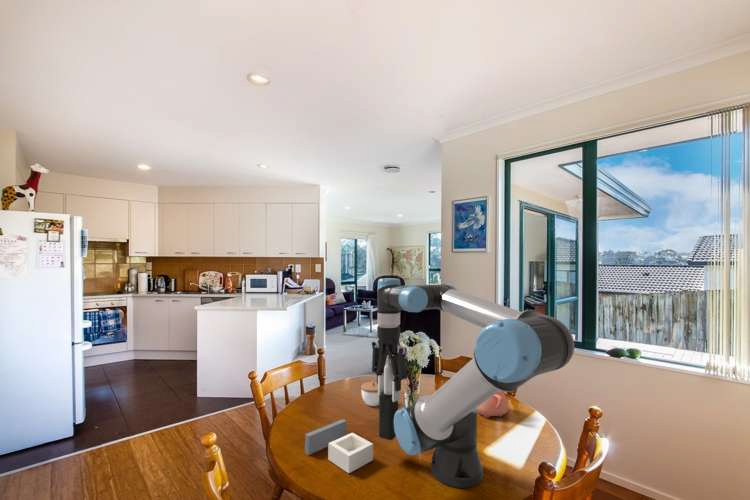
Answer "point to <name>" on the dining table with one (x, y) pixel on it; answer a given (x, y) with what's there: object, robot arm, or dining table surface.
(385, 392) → the candle
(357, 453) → the socket block
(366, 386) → the lidded jar
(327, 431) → the backstop wall
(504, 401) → the teapot
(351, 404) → the dining table surface
